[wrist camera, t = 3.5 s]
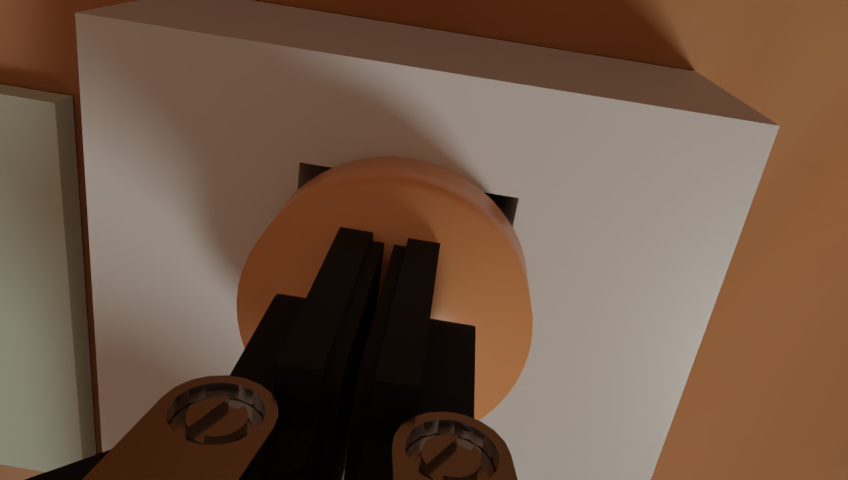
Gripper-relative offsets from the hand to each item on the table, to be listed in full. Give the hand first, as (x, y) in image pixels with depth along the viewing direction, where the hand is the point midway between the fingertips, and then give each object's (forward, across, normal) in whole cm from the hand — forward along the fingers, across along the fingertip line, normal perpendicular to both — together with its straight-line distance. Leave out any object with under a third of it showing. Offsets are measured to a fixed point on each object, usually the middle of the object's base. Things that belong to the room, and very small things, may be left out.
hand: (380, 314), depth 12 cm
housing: (+7, 0, +5) cm, 9 cm away
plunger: (+6, 0, 0) cm, 6 cm away
